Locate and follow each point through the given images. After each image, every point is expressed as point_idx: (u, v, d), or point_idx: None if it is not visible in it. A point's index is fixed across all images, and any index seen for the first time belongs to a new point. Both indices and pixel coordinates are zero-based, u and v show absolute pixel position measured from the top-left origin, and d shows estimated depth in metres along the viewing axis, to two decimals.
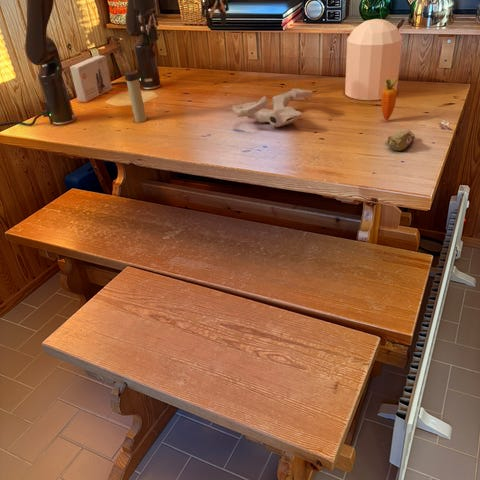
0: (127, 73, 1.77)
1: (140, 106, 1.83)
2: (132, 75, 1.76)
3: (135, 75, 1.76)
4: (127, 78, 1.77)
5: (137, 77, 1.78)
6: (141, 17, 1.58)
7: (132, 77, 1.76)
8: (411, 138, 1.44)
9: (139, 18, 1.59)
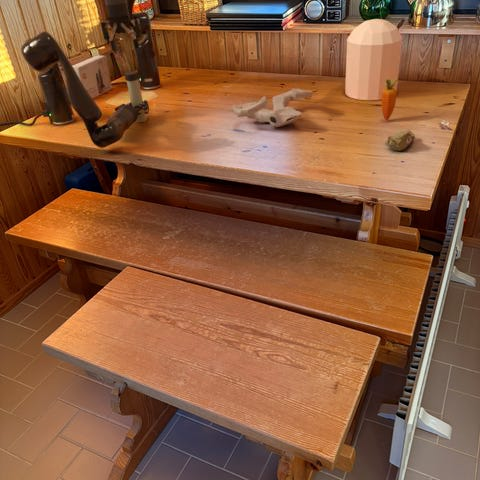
0: (127, 73, 1.77)
1: None
2: (132, 75, 1.76)
3: (135, 75, 1.76)
4: (127, 78, 1.77)
5: (137, 77, 1.78)
6: None
7: (132, 77, 1.76)
8: (411, 138, 1.44)
9: None
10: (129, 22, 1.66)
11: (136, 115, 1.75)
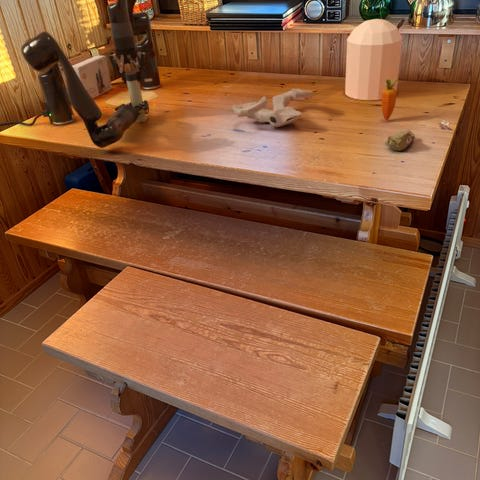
0: (127, 73, 1.77)
1: None
2: (132, 75, 1.76)
3: (135, 75, 1.76)
4: (127, 78, 1.77)
5: None
6: None
7: (132, 77, 1.76)
8: (411, 138, 1.44)
9: None
10: (135, 54, 1.72)
11: (136, 115, 1.75)
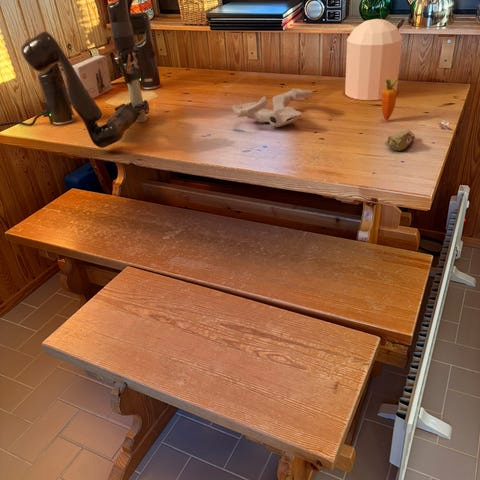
0: (130, 73, 1.76)
1: None
2: (137, 72, 1.78)
3: None
4: (135, 77, 1.77)
5: None
6: None
7: (137, 74, 1.78)
8: (411, 138, 1.44)
9: None
10: (134, 51, 1.76)
11: (136, 115, 1.75)
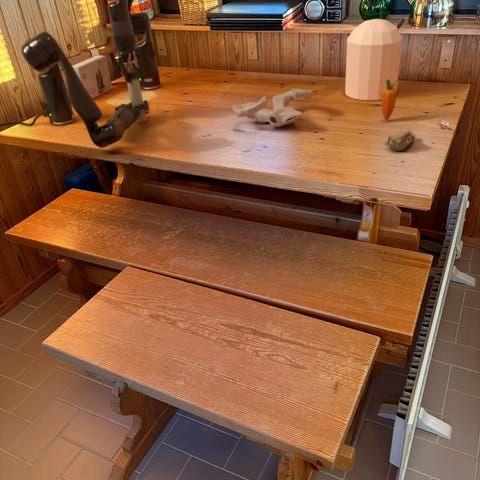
0: (134, 71, 1.77)
1: None
2: None
3: None
4: None
5: None
6: None
7: None
8: (411, 138, 1.44)
9: None
10: (135, 50, 1.76)
11: (136, 115, 1.75)
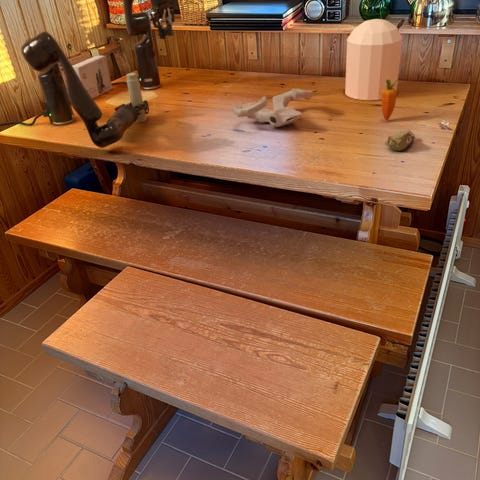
0: (168, 28, 1.81)
1: None
2: None
3: None
4: None
5: None
6: None
7: None
8: (411, 138, 1.44)
9: None
10: (169, 6, 1.79)
11: (136, 115, 1.75)
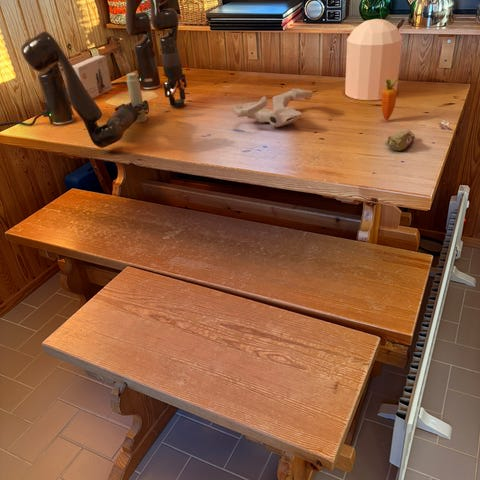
0: (180, 101, 1.97)
1: None
2: None
3: None
4: None
5: None
6: None
7: None
8: (411, 138, 1.44)
9: None
10: (181, 77, 1.95)
11: (136, 115, 1.75)
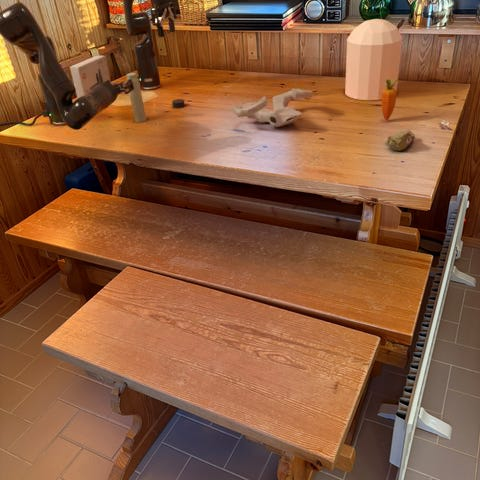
0: (180, 101, 1.97)
1: (140, 106, 1.83)
2: None
3: None
4: None
5: None
6: None
7: None
8: (411, 138, 1.44)
9: None
10: (170, 6, 1.79)
11: (115, 94, 1.58)
